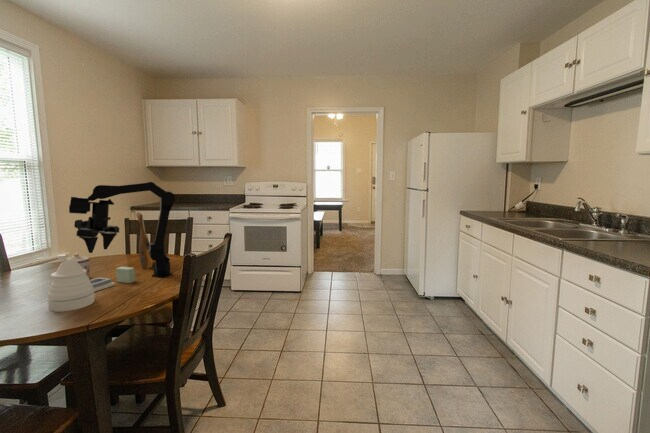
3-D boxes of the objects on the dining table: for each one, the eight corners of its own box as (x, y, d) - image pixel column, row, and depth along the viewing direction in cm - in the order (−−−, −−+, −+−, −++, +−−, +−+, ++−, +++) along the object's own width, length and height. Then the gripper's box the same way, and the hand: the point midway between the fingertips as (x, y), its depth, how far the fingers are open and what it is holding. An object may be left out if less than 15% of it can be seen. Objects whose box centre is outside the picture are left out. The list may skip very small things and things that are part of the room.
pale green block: (135, 281, 142) (134, 267, 142) (129, 283, 139) (128, 269, 139) (122, 279, 144) (122, 266, 144) (116, 281, 141) (115, 268, 141)
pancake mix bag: (137, 270, 158) (134, 214, 155) (138, 262, 175) (136, 210, 172) (153, 269, 161) (150, 213, 158) (152, 260, 178) (150, 210, 175)
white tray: (114, 284, 137) (114, 279, 136) (86, 294, 125) (86, 288, 125) (96, 282, 139) (96, 276, 139) (67, 291, 128) (67, 285, 128)
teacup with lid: (87, 281, 141) (85, 255, 140) (61, 283, 138) (59, 256, 136) (94, 273, 152) (92, 249, 151) (70, 275, 149) (68, 251, 147)
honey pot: (42, 313, 107) (37, 260, 105) (56, 300, 118) (52, 252, 116) (89, 308, 112) (85, 257, 110) (98, 296, 124) (95, 249, 122)
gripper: (95, 211, 145) (93, 246, 146) (63, 214, 127) (61, 253, 128) (120, 214, 146) (118, 248, 147) (92, 216, 127) (90, 255, 128)
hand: (98, 251), depth 137 cm, fingers open, 9 cm apart
